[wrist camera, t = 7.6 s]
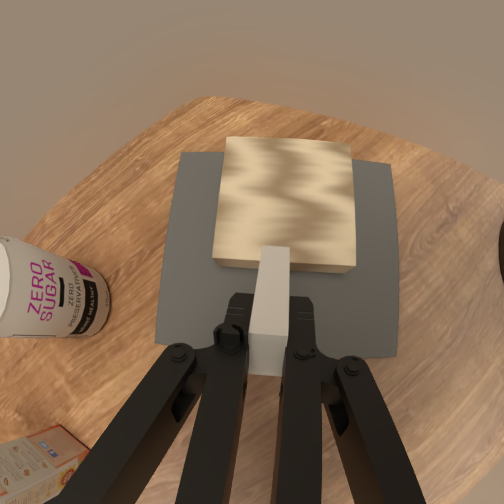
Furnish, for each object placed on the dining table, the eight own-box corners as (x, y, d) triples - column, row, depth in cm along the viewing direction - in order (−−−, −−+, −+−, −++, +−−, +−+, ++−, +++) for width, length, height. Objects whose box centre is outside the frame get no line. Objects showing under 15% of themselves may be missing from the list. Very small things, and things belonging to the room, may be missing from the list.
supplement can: (51, 289, 30) (-41, 265, 16) (96, 254, 31) (5, 210, 16) (75, 348, 29) (-23, 352, 14) (124, 316, 29) (26, 305, 15)
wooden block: (344, 274, 28) (341, 164, 31) (356, 265, 24) (349, 143, 26) (220, 267, 29) (232, 158, 31) (212, 257, 25) (226, 136, 27)
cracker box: (57, 421, 26) (-68, 457, 6) (93, 450, 26) (-28, 513, 5) (43, 480, 24) (-49, 523, 4) (73, 506, 23) (-13, 564, 3)
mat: (387, 168, 31) (390, 164, 30) (392, 355, 27) (396, 356, 26) (183, 156, 33) (181, 152, 32) (158, 342, 28) (154, 343, 27)
